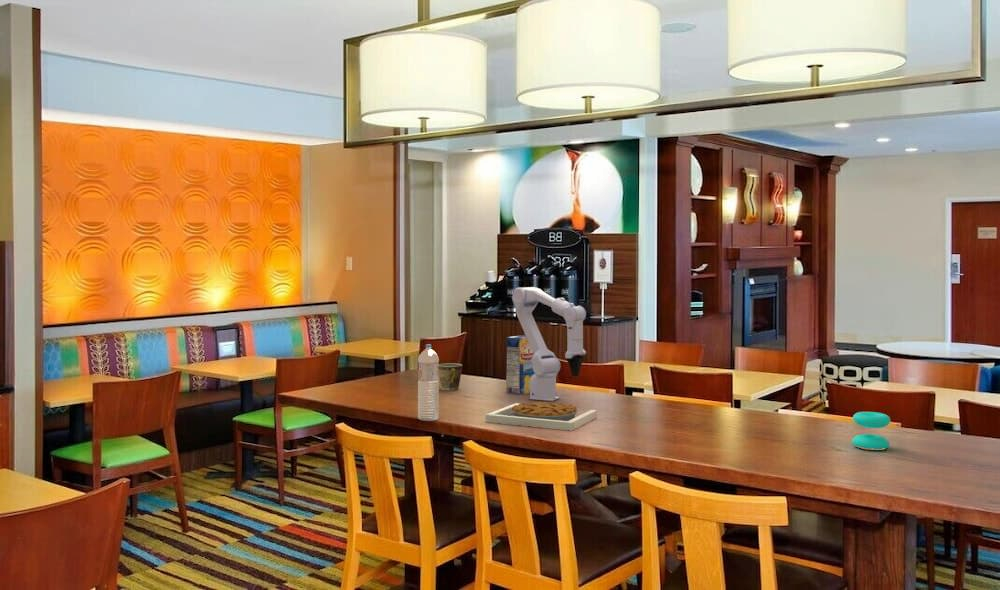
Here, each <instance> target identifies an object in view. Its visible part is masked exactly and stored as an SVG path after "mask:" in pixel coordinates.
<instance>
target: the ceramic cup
mask: <svg viewBox="0 0 1000 590" xmlns="http://www.w3.org/2000/svg"><path fill="white" fill-rule="evenodd" d="M462 370H463V364H461V363H456V362H455V363H453V362H452V363H451V362H450V363H448V362H446V363H438V378H439V382H440V388H441V390H442V391H444V390H448V391H447V392H451V391H452V390H455V391H458V390H459V389H460V388H459V387H460V382H461V376H462V372H463V371H462Z"/></svg>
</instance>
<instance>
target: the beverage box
mask: <svg viewBox="0 0 1000 590" xmlns="http://www.w3.org/2000/svg"><path fill="white" fill-rule="evenodd" d="M533 355H534V353H533V351H532V349H531V346H530V344H529V342H528V340H527V337H526V335H525V334H524V335H515V336H506V358H505V359H506V360H505V361H506V363H505V365H506V369H505V372H506V377H505V379H506V381H505V382H506V385H505V387H506V388H505V389H506V391H505V393H506V394H512V395H525V394H530V380H531V377H532V376H533V375H536V374H535V373H534V371H533V364H532V361H531V359H532V357H533Z"/></svg>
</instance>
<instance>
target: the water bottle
mask: <svg viewBox="0 0 1000 590" xmlns="http://www.w3.org/2000/svg"><path fill="white" fill-rule="evenodd" d="M439 360H440V357H439V356H438V354H437V353H436V352H435V350H433V349H432V344H430V343H429V344H427V343H426V344H425V349H423V351H421V353H420V354H419V355H418V358H417V362H418V366H417V367H418V371H417V372H418V374H417V375H418V379H417V380H418V381H417V385H418V386H417V418H418V420H420V421H422V422H435V421H437V420H438V419H439V413H440V412H439V406H440V405H439V404H440V403H439V399H440V398H439V393H440V392H439V388H440V387H439V382H440V380H439V372H438V364H439Z"/></svg>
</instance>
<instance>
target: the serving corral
mask: <svg viewBox="0 0 1000 590" xmlns="http://www.w3.org/2000/svg"><path fill="white" fill-rule="evenodd" d="M521 403H522V402H521ZM521 403H520V402H519V403H518V402H515V403H513V404H511V405H507V406H505V407H502V408H499V409H496V410H494V411H492V412H489V413H485V423H488V422H492V423H491V424H498V423H501V424H500V425H508V424H510V425H511V426H518V425H521V426H520V427H528V426H531V428H538V427H542V428H541V429H548V428H549V429H550V430H560V431H568V430H569V431H571V432H572V431H574V430H576V429H578V428H579V427H581V426H584V425H585V424H587V423H589V422H592V421H593V420H594V419H597V417H598V410H597V409H590V410H588V411H585V412H584V413H582V414H579V415H578V416H576V417H574V418H573V419H571V420H569V421H560V420H549V419H539V418H528V417H518V416H514V414H513V412H512V411H511V410H512V407H514V406H515V405H518V404H521ZM508 415H509V416H508ZM510 425H509V426H510Z"/></svg>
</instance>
